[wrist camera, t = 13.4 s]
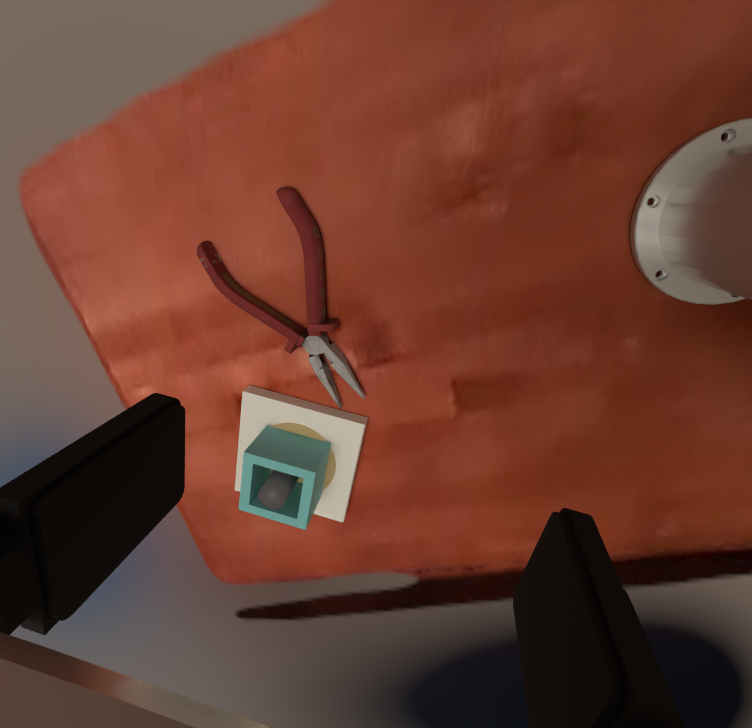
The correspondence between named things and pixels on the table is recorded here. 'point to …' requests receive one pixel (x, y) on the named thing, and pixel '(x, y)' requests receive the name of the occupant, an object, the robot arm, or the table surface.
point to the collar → (286, 457)
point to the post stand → (310, 422)
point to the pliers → (315, 296)
